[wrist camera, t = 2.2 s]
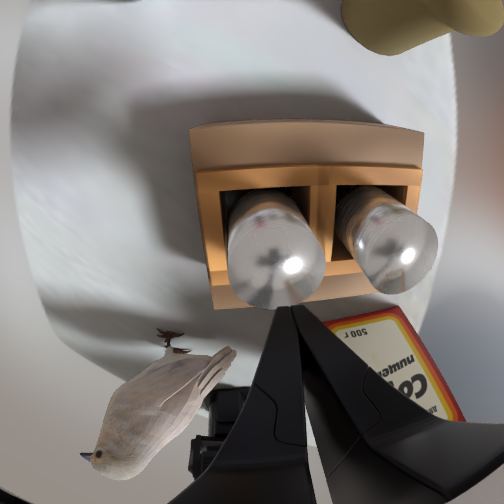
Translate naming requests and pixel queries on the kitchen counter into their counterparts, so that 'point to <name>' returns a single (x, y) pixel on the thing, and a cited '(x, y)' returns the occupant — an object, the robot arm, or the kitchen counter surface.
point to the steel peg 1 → (272, 251)
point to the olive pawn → (417, 21)
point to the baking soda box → (398, 358)
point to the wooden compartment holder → (300, 184)
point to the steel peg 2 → (385, 239)
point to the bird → (154, 409)
